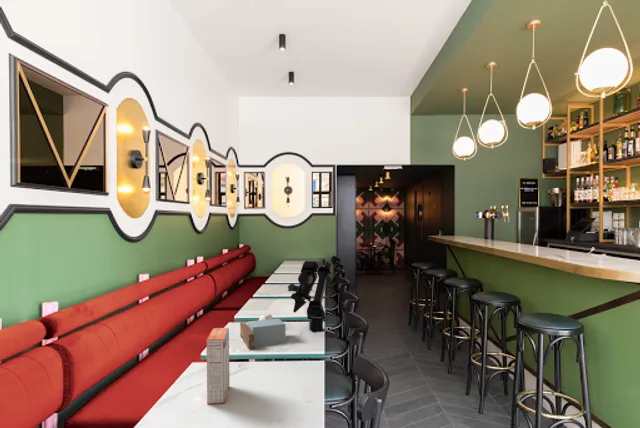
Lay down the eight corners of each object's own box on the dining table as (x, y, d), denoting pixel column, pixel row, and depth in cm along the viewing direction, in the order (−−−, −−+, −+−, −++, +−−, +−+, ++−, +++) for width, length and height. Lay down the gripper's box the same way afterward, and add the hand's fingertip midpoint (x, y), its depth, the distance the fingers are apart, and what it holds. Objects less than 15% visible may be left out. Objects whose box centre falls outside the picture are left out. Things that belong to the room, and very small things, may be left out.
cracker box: (212, 387, 142) (212, 327, 142) (230, 386, 143) (230, 327, 143) (205, 404, 128) (205, 339, 128) (224, 403, 129) (224, 338, 129)
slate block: (278, 336, 205) (278, 318, 206) (285, 342, 194) (285, 323, 194) (247, 339, 199) (247, 321, 200) (252, 346, 188) (252, 327, 188)
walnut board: (245, 335, 206) (245, 321, 206) (254, 349, 183) (254, 334, 183) (240, 336, 205) (240, 322, 205) (248, 350, 182) (248, 334, 183)
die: (266, 334, 210) (277, 317, 214) (252, 325, 212) (263, 308, 215) (268, 335, 218) (278, 319, 222) (255, 327, 220) (265, 311, 223)
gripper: (299, 277, 217) (286, 303, 216) (289, 277, 199) (275, 306, 198) (316, 287, 214) (304, 313, 213) (308, 287, 196) (294, 316, 195)
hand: (294, 312), depth 205 cm, fingers closed
